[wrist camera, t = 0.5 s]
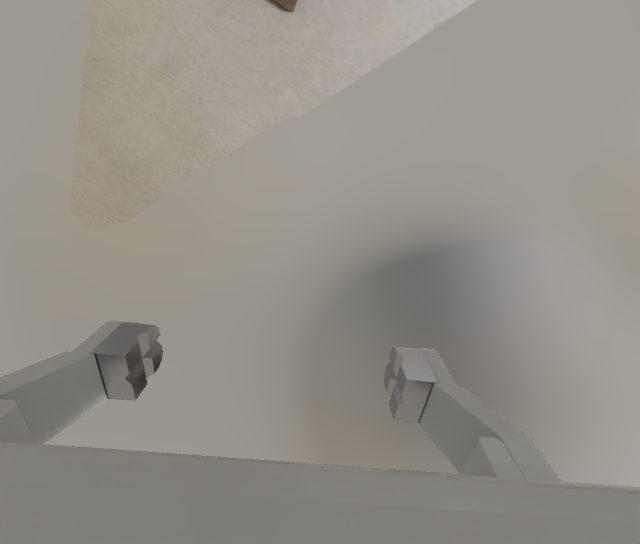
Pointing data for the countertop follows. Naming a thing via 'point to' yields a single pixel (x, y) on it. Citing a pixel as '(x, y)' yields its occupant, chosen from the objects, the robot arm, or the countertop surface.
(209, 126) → the countertop surface
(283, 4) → the socket board
